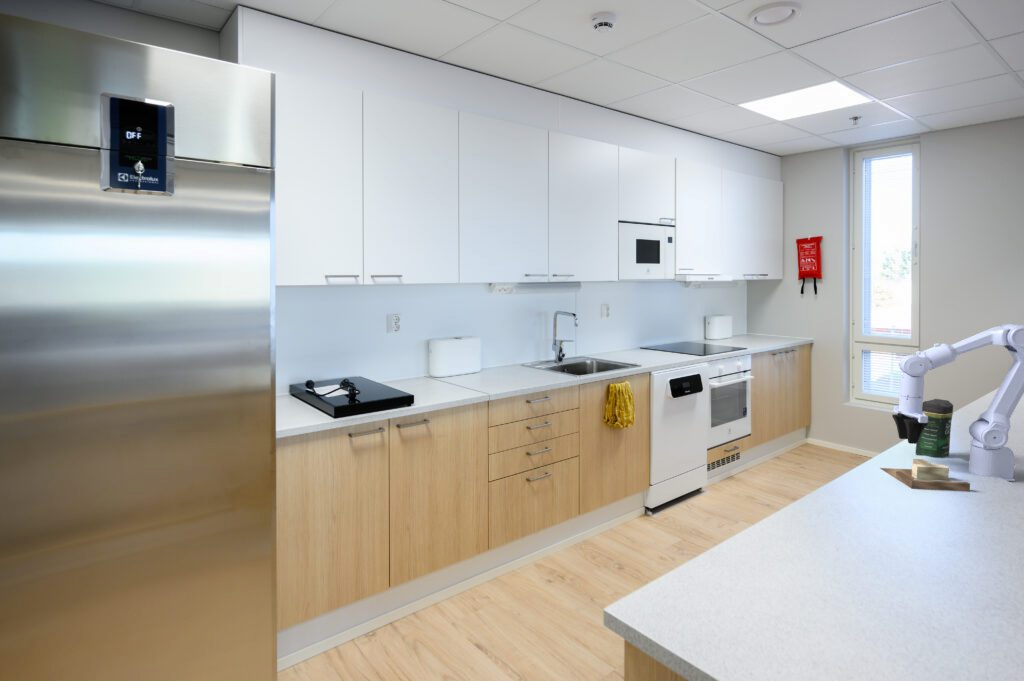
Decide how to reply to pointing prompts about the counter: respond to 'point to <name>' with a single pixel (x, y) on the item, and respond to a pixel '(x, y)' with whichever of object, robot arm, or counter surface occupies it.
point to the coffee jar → (936, 429)
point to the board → (925, 481)
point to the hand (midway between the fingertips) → (908, 441)
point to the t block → (929, 470)
